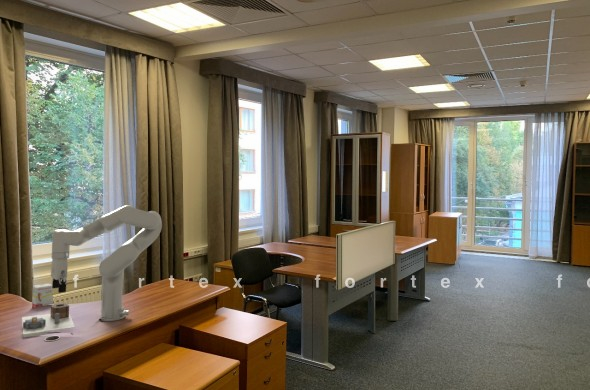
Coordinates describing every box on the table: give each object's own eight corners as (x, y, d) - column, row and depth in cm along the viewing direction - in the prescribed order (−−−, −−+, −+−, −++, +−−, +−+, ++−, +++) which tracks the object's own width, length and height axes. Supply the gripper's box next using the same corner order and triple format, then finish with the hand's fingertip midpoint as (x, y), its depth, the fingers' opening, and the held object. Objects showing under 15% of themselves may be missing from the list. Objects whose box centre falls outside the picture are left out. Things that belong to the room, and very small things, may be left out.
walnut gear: (72, 314, 214) (73, 303, 214) (63, 319, 206) (63, 308, 206) (56, 313, 214) (56, 302, 214) (46, 319, 206) (46, 307, 206)
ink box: (35, 310, 224) (35, 287, 223) (31, 308, 227) (32, 285, 226) (53, 306, 230) (53, 284, 230) (49, 304, 233) (49, 283, 233)
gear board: (21, 320, 208) (22, 307, 207) (68, 314, 219) (68, 302, 218) (23, 337, 186) (23, 323, 186) (74, 330, 197) (75, 317, 197)
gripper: (46, 252, 213) (45, 287, 213) (57, 258, 200) (55, 295, 201) (63, 251, 218) (61, 285, 218) (74, 257, 206) (73, 293, 206)
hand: (58, 290), depth 210 cm, fingers open, 9 cm apart
